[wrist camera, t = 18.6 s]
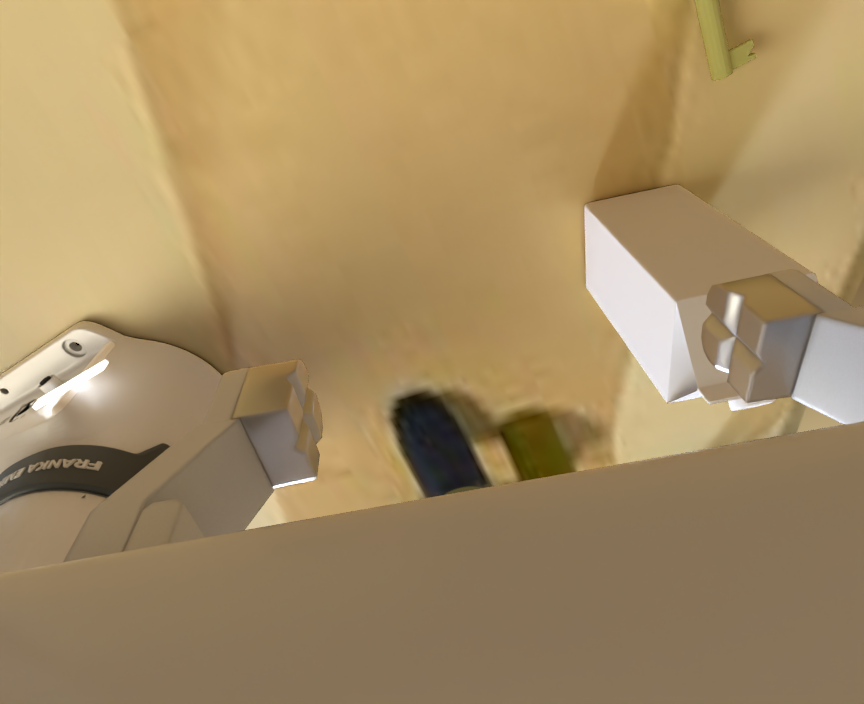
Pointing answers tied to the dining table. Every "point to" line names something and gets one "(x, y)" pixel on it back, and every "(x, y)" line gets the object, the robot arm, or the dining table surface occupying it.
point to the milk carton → (671, 282)
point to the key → (720, 41)
